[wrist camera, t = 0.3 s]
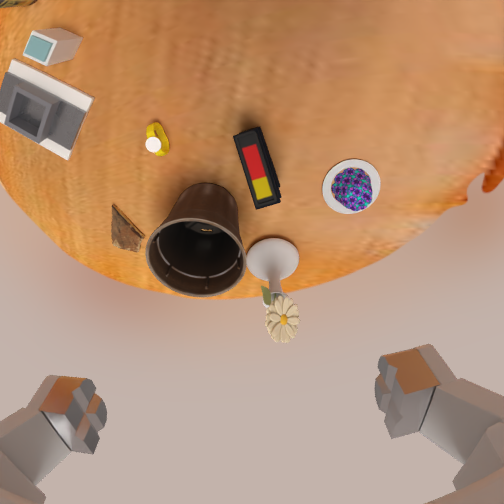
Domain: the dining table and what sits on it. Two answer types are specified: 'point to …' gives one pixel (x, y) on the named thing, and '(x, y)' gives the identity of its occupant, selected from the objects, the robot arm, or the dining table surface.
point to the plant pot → (199, 244)
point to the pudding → (351, 186)
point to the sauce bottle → (15, 3)
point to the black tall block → (258, 167)
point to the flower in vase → (276, 284)
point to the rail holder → (43, 107)
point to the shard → (124, 231)
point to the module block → (52, 46)
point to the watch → (157, 140)
